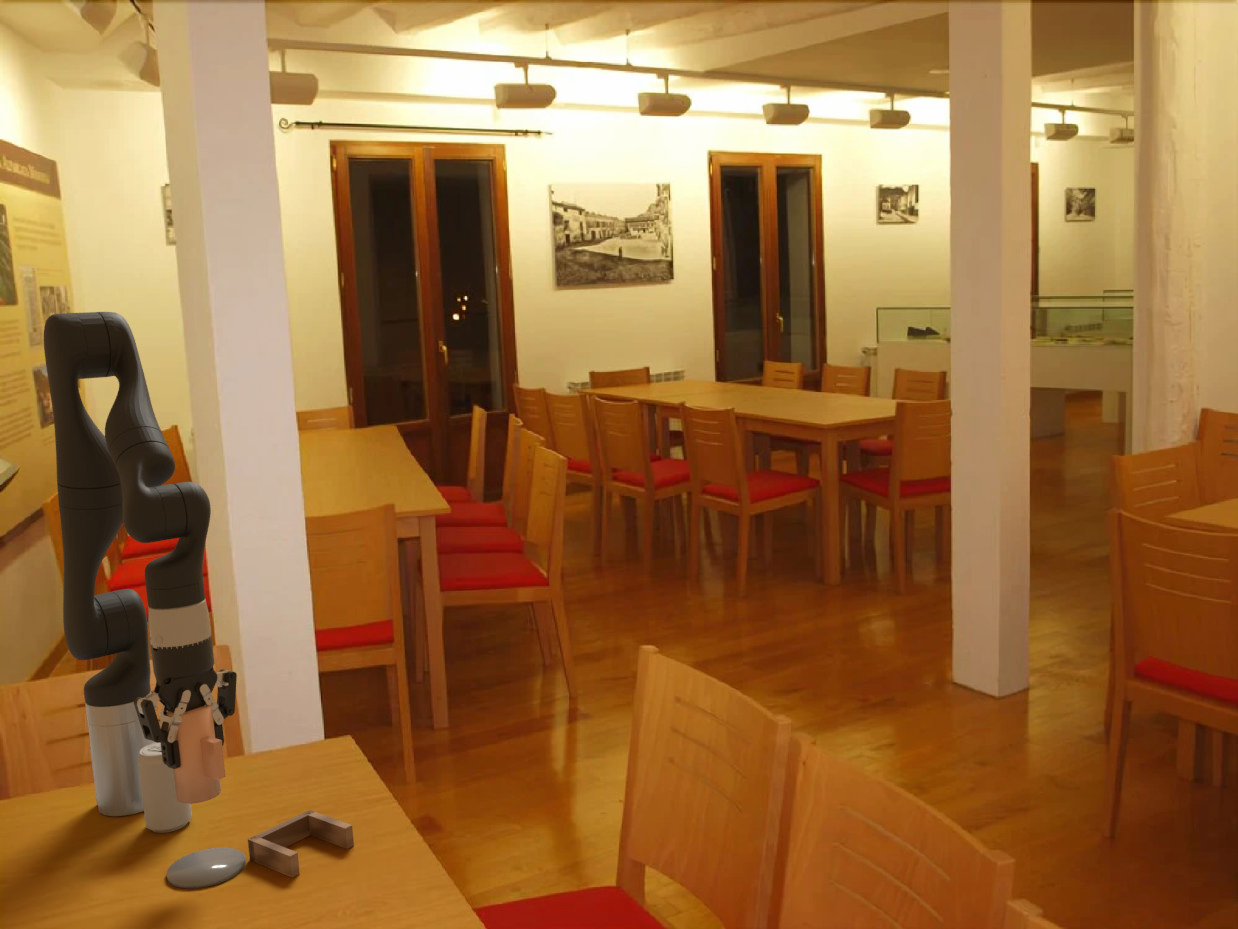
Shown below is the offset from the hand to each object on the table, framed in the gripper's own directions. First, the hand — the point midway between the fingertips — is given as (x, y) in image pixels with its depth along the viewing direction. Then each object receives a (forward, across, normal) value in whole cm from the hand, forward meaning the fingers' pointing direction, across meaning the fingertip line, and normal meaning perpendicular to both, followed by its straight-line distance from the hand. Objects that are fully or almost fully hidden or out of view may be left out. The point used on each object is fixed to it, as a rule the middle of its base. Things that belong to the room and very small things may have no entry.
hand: (194, 758), depth 153 cm
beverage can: (+16, -5, -17) cm, 24 cm away
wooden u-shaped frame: (+16, -10, +8) cm, 20 cm away
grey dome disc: (+16, 0, 0) cm, 16 cm away
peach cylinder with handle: (+5, 0, +1) cm, 5 cm away
